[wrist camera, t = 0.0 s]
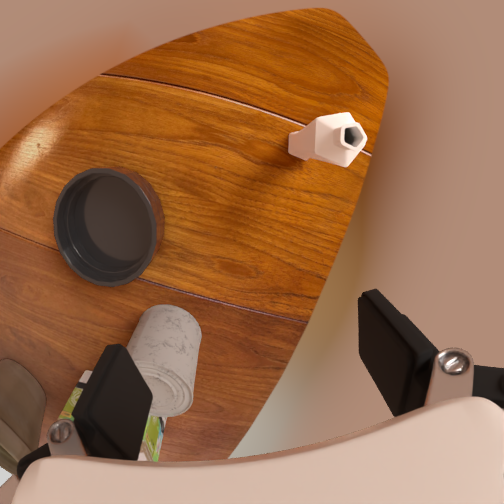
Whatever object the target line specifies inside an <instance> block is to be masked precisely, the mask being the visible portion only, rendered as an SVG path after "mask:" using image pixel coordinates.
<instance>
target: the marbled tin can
mask: <svg viewBox="0 0 504 504" xmlns="http://www.w3.org/2000/svg"><path fill="white" fill-rule="evenodd" d="M201 336H202V335H201V329H200V327H199V324H198V323H197V321H196V320H195V318H194V317H193V316H192V315H191V314H190V313H188V312H187V311H185V310H184V309H182V308H179V307H177V306H173V305H156V306H153V307H151V308H149V309H147V310H146V311H145V312H144V313H143V314H142V316H141V317H140V320H139V323H138V325H137V327H136V329H135V331H134V333H133V335H132V337H131V339H130V341H129V343H128V345H127V347H126V349H127V350H128V352H129V354H130V356H131V357H132V359H133V361H134V363H135V365H136V366H137V368H138V370H139V372H140V373H141V375H142V377H143V378H144V380H145V382H146V383H147V385H148V387H149V388H150V390H151V392H152V395H153V400H152V404H151V408H150V412H149V415H152V416H157V417H173V416H177V415H180V414H182V413H184V412H186V411H187V410H188V409H189V408H190V406H191V405H192V403H193V389H194V381H195V374H196V366H197V359H198V352H199V345H200V342H201Z"/></svg>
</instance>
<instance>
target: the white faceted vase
mask: <svg viewBox="0 0 504 504" xmlns="http://www.w3.org/2000/svg"><path fill="white" fill-rule="evenodd" d="M366 141H367V136H366V134H365V133H364V131H363V129H362V127H361V126H360V124H359V123H357V122H355V121H354V119H353V118H352V116H351V114H350V113H348V112H346V113H339V114H333V115H327V116H321V117H318V118H316V119H315V120H314V121H312V122H311V123H310V124H308V125H307V126H306V127H304V128H303V129H302V130H300V131H297V132H293V133H290V134H289V147H288V153H289V154H291V155H293V156H296V157H298V158H301V159H303V160H306V161H307V160H308V159H309V158H313V159H317V160H321V161H324V162H328V163H332V164H336V165H339V166H343V167H347V166H349V164H350V163H351V162H352V161H353V159H354V158H355V157H356V156H357V154H358V153H359V152H360V151H361V149H362V148H363V147H364V146H365V144H366Z"/></svg>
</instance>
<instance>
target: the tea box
mask: <svg viewBox="0 0 504 504" xmlns="http://www.w3.org/2000/svg"><path fill="white" fill-rule="evenodd" d="M92 372H93V371H89V370H85V372H84V373H83V375H82V377H81V378H80V380H79V382H78V383H77V385H76V386H75V388H74V390H73V392H72V394H71V396H70V397H69V399H68V401H67V403H66V405H65V406H64V408H63V410H62V412H61V414H60V416H59V417H58V419H57V420H60V419H65V418H66V419H70V420H71V421H74V419H75V418H74V417H73V416H72V415H71V413H72V411H73V409H74V407H75V405H76V403H77V401H78V399H79V397H80V395H81V393H82V391H83V389H84V387H85V385H86V383H87V381H88V379H89V377H90V375H91V374H92ZM166 419H167V417H157V416H152V415H149V416H148V420H147V424H146V428H145V432H144V436H143V440H142V444H141V449H140V453H139V458H138V460H137V461H152V462H158V457H159V453H160V448H161V443H162V438H163V433H164V428H165V424H166Z"/></svg>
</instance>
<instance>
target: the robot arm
mask: <svg viewBox="0 0 504 504" xmlns="http://www.w3.org/2000/svg"><path fill="white" fill-rule="evenodd" d="M358 323H359V354H360V357H361V359H362V361H363V363H364V364H365V366H366V368H367V370H368V372H369V373H370V375H371V376H372V379H373V380H374V382H375V384H376V385H377V387H378V389H379V391H380V392H381V394H382V396H383V398H384V400H385V401H386V403H387V405H388V407H389V408H390V411H391V412H392V414H393V416H394V417H395V418H392V419H390V420H387V421H385V422H382V423H379V424H376V425H374V426H371V427H368V428H365V429H362V430H359V431H356V432H353V433H350V434H346V435H343V436H340V437H336V438H333V439H329V440H326V441H323V442H318V443H315V444H311V445H307V446H302V447H298V448H293V449H289V450H283V451H278V452H273V453H267V454H261V455H254V456H248V457H240V458H231V459H220V460H208V461H186V462H152V461H137V460H138V458H139V453H140V449H141V444H142V440H143V436H144V432H145V428H146V424H147V420H148V416H149V412H150V408H151V404H152V400H153V395H152V392H151V390H150V388H149V387H148V385H147V383H146V382H145V380H144V378H143V377H142V375H141V373H140V372H139V370H138V368H137V366H136V365H135V363H134V361H133V359H132V357H131V356H130V354H129V352H128V350H127V349H126V347H123V346H122V345H121V344H113V345H107V347H106V348H105V350H104V352H103V353H102V355H101V357H100V359H99V361H98V362H97V364H96V366H95V368H94V370H93V372H92V374H91V375H90V377H89V379H88V381H87V383H86V385H85V387H84V389H83V391H82V393H81V395H80V397H79V399H78V401H77V403H76V405H75V407H74V409H73V411H72V413H71V415H72V416H73V417H74V418H75V419H74V421H71V420H70V419H66V418H65V419H60V420H57V421H56V422H54V423H53V424H52V425H51V426H50V428H49V430H48V432H47V441H48V443H46V444H45V445H43V446H41V447H40V448H38V449H36V450H35V451H33V452H31V453H29V454H28V455H26V456H24V457H23V458H21V459H20V460H19V462H18V465H17V475H16V474H15V473H14V474H13V475H12V476H11V477H10V478H9V479H8V480H7V481H6V482H5V483H4V484H3V485H2V486H1V487H0V504H504V368H496V367H487V366H479V365H474V362H473V358H472V356H471V355H470V354H469V353H468V352H467V351H465V350H463V349H460V348H447V349H444V350H442V351H440V352H439V351H438V350H437V348H436V347H435V346H434V345H433V344H432V343H431V342H430V341H429V340H428V339H427V338H426V337H425V336H424V334H423V333H422V332H421V331H420V330H419V329H418V328H417V327H416V326H415V325H414V324H413V323H412V322H411V321H410V320H409V319H408V317H406V316H405V315H403V314H401V313H400V312H399V311H398V310H397V309H396V308H395V307H394V306H393V305H392V304H391V303H390V302H389V301H388V300H387V299H386V298H385V297H384V296H383V295H382V294H381V293H380V292H379V291H378V290H377V289H373V290H369V291H366V292H363V293H362V295H361V297H359V298H358Z"/></svg>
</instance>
